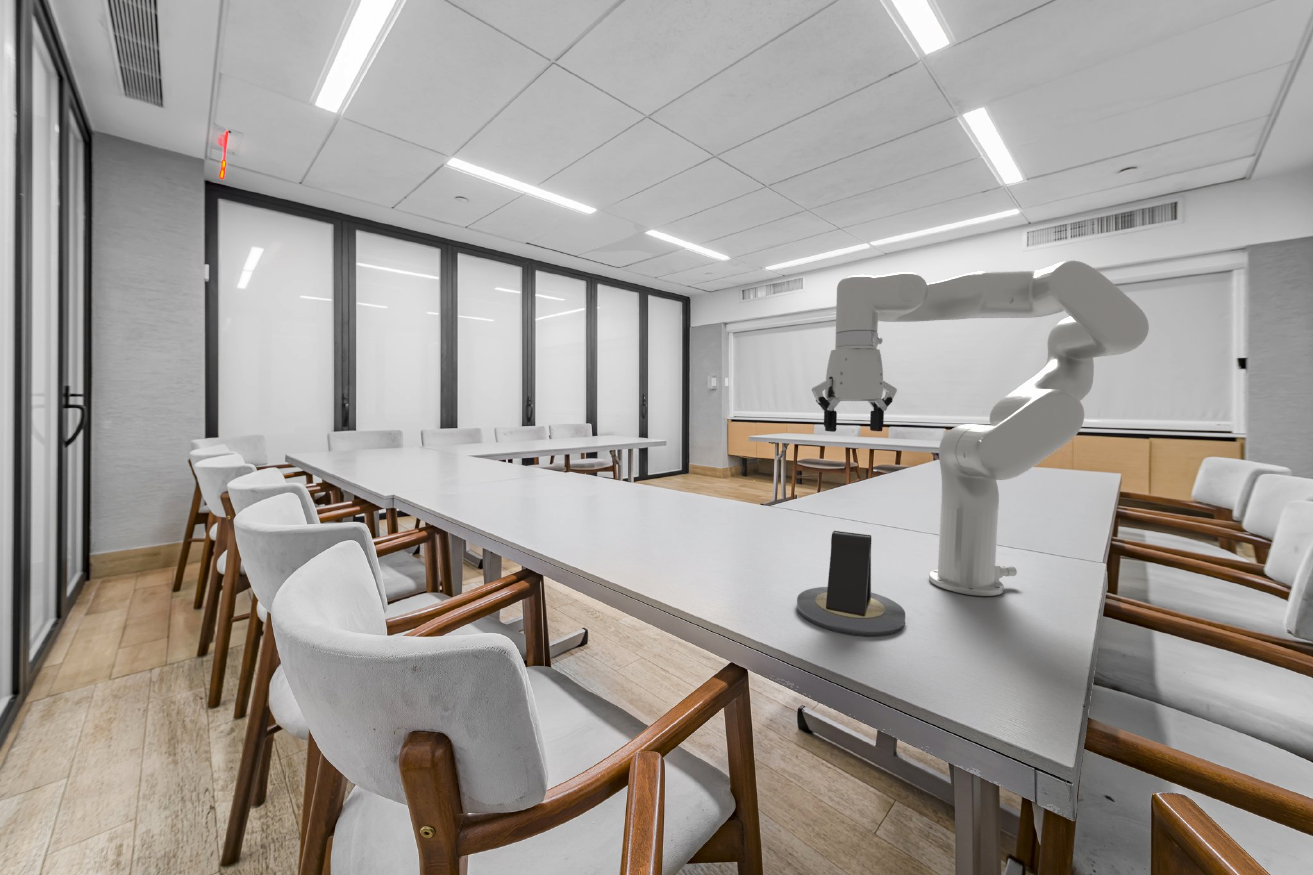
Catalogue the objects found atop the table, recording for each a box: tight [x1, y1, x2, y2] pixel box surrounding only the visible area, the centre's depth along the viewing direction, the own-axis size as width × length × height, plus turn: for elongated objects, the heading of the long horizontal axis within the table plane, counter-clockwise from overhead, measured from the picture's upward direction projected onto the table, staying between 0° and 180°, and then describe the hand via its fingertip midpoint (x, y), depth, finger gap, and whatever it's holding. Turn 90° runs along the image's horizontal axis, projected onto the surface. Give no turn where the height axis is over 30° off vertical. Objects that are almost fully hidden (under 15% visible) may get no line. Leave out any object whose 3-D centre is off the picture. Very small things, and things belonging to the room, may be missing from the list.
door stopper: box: [826, 530, 872, 616], centre depth 85 cm, size 9×6×12 cm, turn 151°
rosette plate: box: [796, 586, 906, 637], centre depth 86 cm, size 17×17×2 cm
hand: (853, 431), depth 99 cm, fingers open, 9 cm apart
